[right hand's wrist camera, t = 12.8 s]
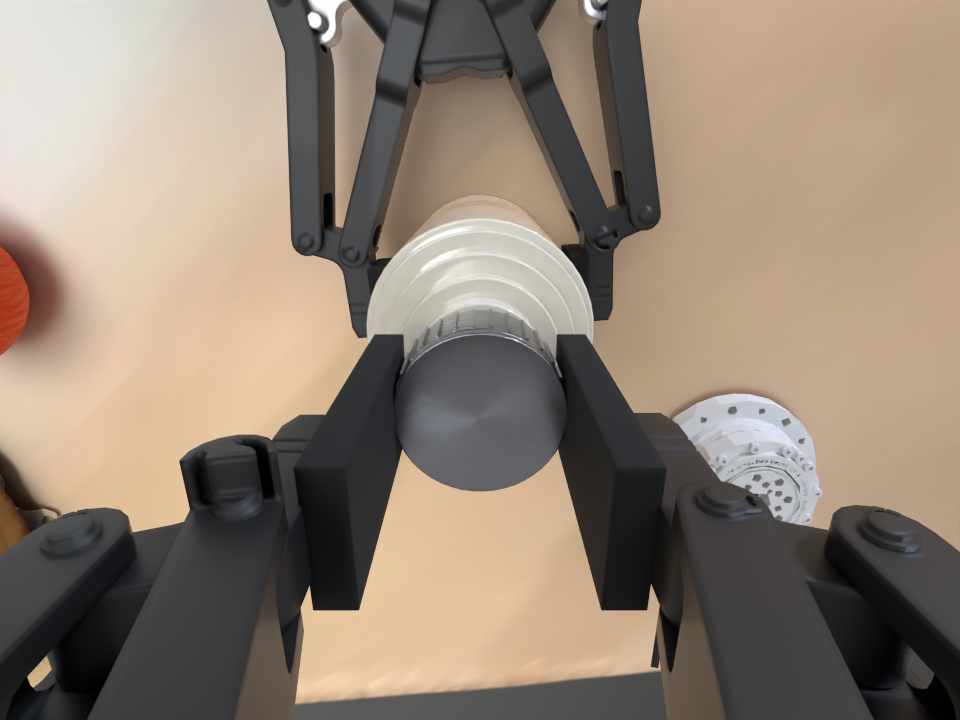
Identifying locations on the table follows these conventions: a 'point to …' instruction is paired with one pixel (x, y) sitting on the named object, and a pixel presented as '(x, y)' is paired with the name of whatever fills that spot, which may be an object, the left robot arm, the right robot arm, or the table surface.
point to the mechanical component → (757, 451)
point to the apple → (11, 301)
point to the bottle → (480, 274)
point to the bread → (17, 520)
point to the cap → (480, 401)
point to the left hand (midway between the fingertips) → (487, 391)
